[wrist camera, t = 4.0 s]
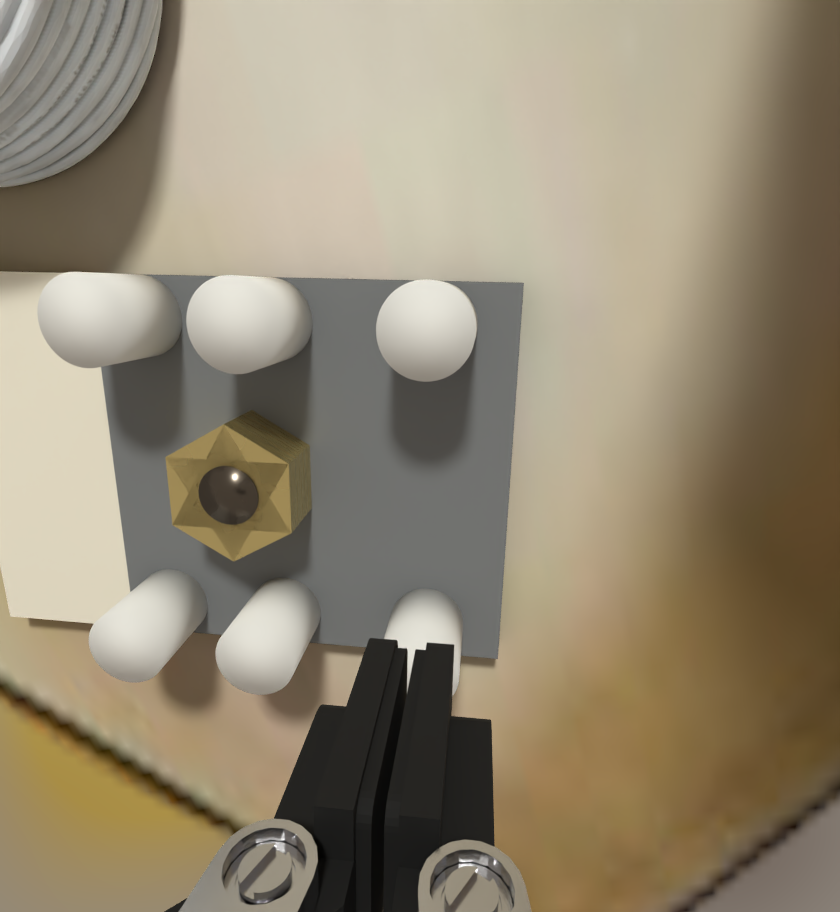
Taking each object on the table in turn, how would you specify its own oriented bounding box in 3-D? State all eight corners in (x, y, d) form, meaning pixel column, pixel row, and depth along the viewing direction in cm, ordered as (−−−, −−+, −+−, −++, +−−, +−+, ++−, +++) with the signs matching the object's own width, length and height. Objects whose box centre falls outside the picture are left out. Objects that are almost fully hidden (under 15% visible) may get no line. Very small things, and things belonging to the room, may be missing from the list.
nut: (308, 412, 22) (286, 427, 20) (312, 537, 24) (292, 567, 21) (196, 407, 23) (160, 421, 20) (207, 530, 24) (174, 558, 22)
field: (522, 283, 21) (530, 281, 17) (497, 644, 25) (499, 718, 21) (-36, 271, 23) (-155, 266, 19) (26, 604, 27) (-60, 663, 23)
